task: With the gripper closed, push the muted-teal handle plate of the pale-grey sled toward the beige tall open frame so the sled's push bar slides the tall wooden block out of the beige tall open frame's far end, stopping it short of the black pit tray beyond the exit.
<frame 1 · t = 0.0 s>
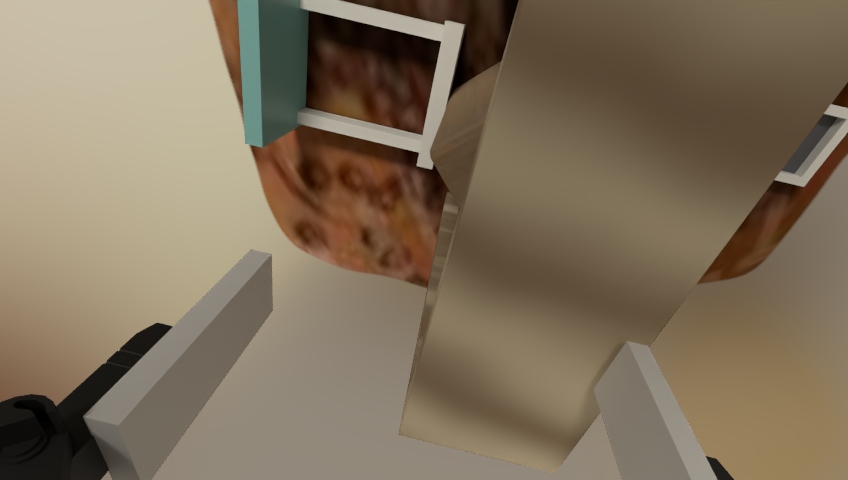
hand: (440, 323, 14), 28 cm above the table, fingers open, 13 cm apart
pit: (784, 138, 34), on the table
beige tall open frame: (510, 109, 36), on the table
wooden block: (520, 110, 36), on the table
sled: (358, 82, 32), point 5 cm above the table, slide at 0.0 cm
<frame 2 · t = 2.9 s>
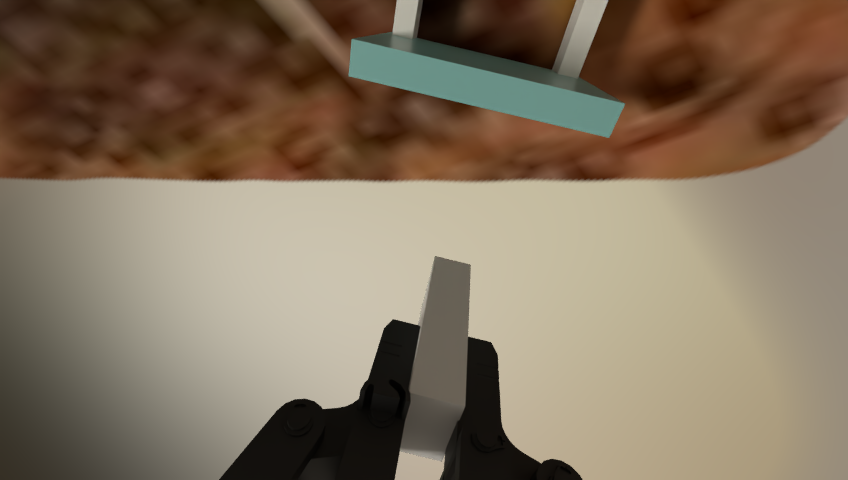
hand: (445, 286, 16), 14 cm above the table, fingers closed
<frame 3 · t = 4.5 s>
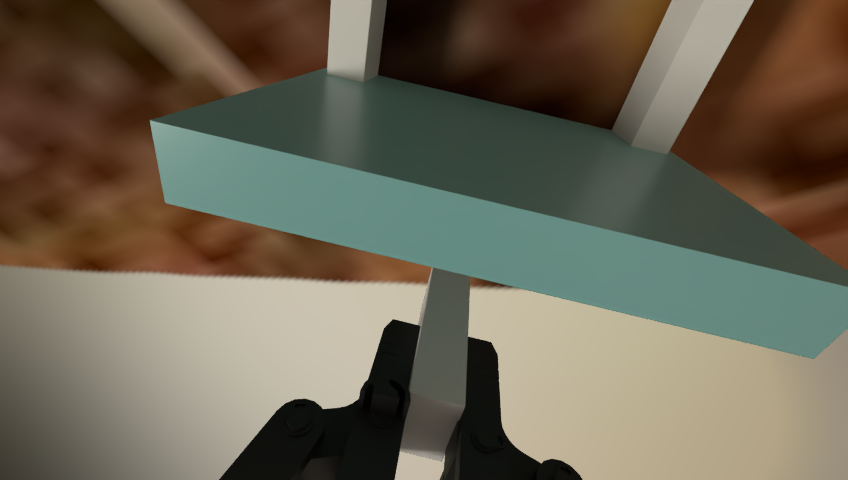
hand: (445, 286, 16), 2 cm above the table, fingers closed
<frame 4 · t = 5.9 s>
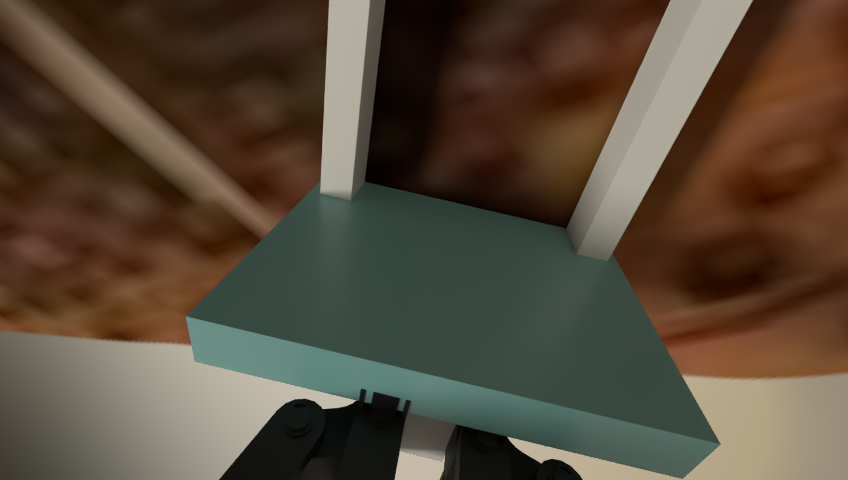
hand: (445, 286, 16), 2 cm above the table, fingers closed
sled: (525, 45, 9), point 5 cm above the table, slide at 1.4 cm, touching gripper, wooden block
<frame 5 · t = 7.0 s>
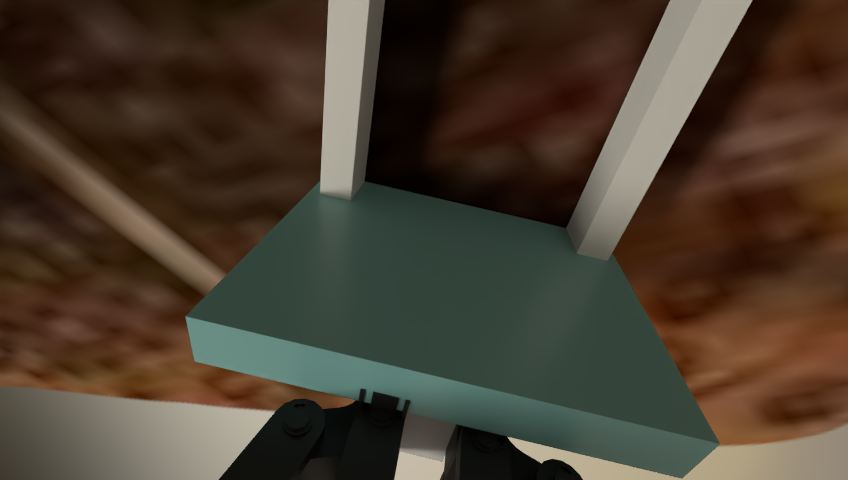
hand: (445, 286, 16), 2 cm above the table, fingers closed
sled: (525, 45, 9), point 5 cm above the table, slide at 7.8 cm, touching gripper, wooden block
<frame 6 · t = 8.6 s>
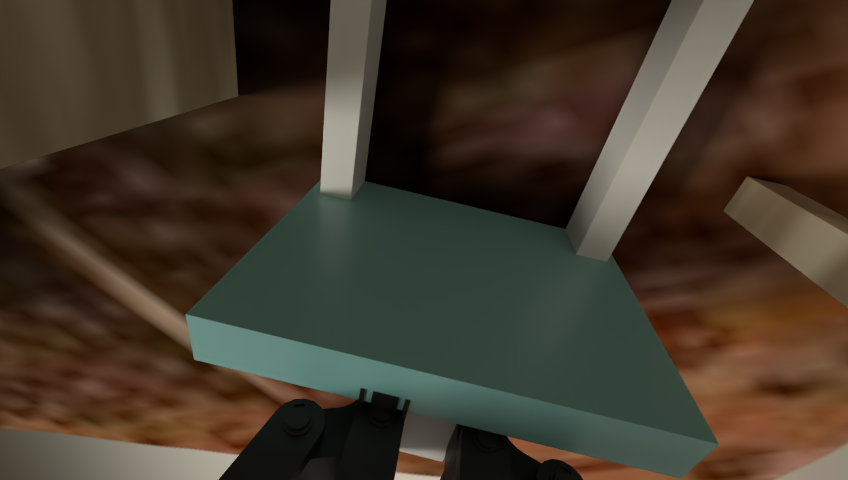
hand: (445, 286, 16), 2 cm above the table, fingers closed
beige tall open frame: (510, 42, 13), on the table
sled: (526, 45, 9), point 5 cm above the table, slide at 14.0 cm, touching gripper, wooden block
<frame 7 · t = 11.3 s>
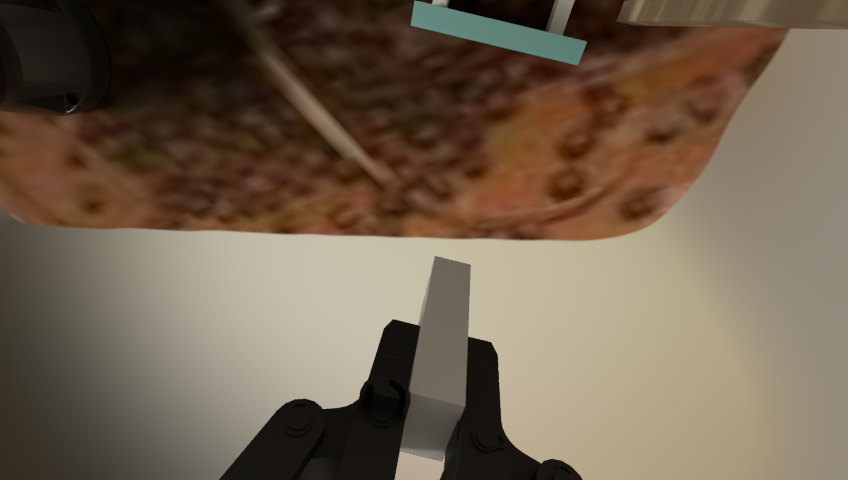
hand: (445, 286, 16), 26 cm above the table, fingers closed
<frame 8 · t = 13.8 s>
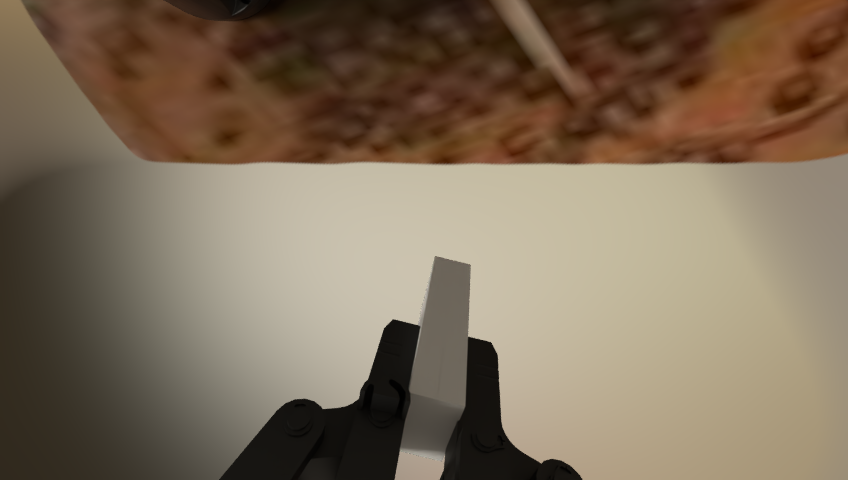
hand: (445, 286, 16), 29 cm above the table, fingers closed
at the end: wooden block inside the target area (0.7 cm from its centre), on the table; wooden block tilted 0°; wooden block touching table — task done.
